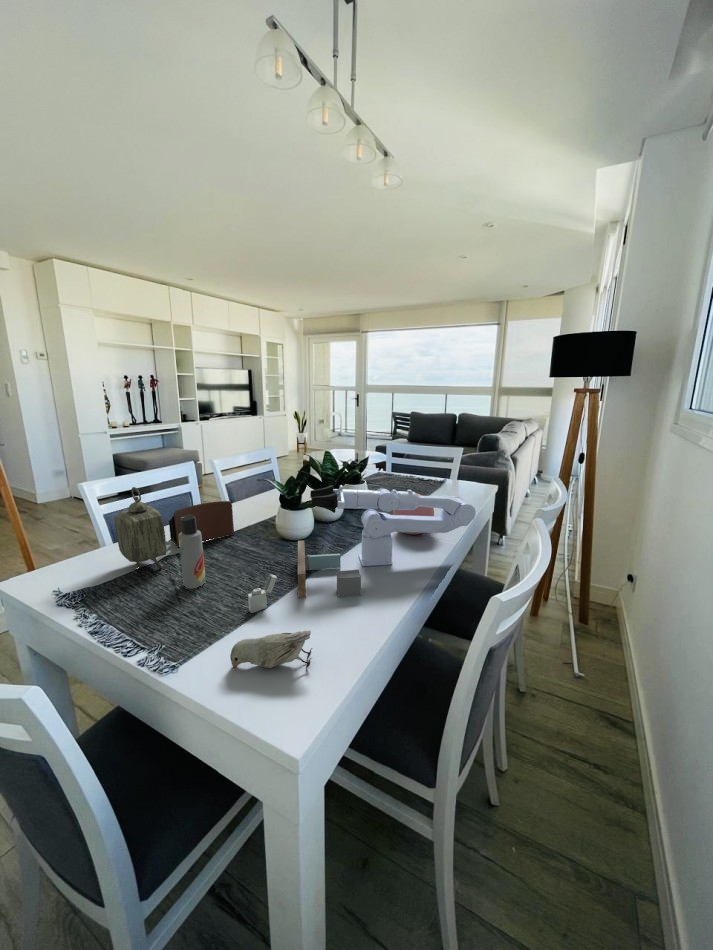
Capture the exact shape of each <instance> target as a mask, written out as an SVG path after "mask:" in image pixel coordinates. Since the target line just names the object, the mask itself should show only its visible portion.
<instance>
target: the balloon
mask: <svg viewBox="0 0 713 950" xmlns="http://www.w3.org/2000/svg"><path fill="white" fill-rule="evenodd" d="M415 493H416V492H415ZM416 494H417V495H418V496H424V495H422V494H420V493H416ZM392 515H405V516H435V508H430V507H417V508H416V509H415V510H395V509H394V510H392ZM403 533H405V534H407V535H412V536H414V535H420V534H421V535H422V534H423V533H424V532H403Z"/></svg>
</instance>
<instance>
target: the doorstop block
mask: <svg viewBox="0 0 713 950" xmlns="http://www.w3.org/2000/svg"><path fill="white" fill-rule="evenodd" d="M336 593H337V597H338V598H345V597H357V596H362V575H361V573H360V570H359V569H349V570H337V571H336Z"/></svg>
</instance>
